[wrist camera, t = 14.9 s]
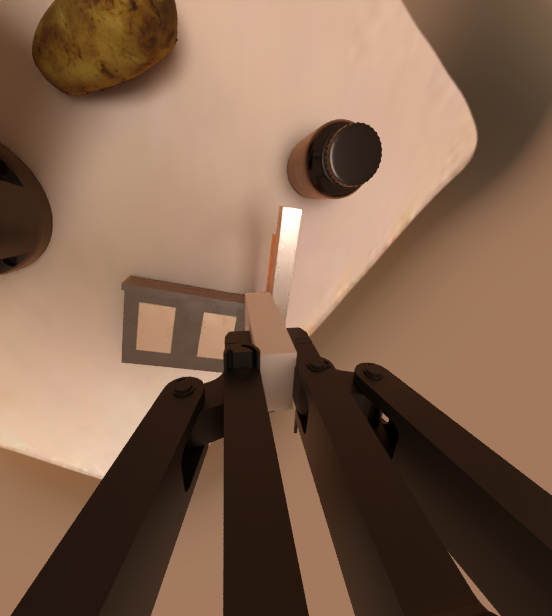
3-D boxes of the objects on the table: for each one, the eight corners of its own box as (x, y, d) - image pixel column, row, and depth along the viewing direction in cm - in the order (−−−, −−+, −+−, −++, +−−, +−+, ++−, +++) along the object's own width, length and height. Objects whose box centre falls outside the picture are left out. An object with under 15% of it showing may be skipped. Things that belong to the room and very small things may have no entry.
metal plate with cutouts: (126, 354, 39) (118, 367, 36) (130, 275, 35) (121, 283, 32) (242, 366, 43) (243, 379, 40) (258, 297, 39) (261, 306, 36)
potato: (29, -12, 24) (-58, -102, 16) (179, -3, 25) (160, -80, 18) (62, 103, 27) (2, 70, 20) (193, 104, 29) (182, 74, 22)
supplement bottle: (336, 199, 35) (385, 202, 24) (285, 197, 34) (312, 200, 23) (342, 137, 32) (401, 110, 22) (287, 134, 31) (319, 103, 20)
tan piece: (270, 203, 28) (282, 207, 22) (286, 205, 29) (304, 209, 22) (255, 347, 35) (261, 382, 28) (268, 347, 35) (278, 382, 29)
